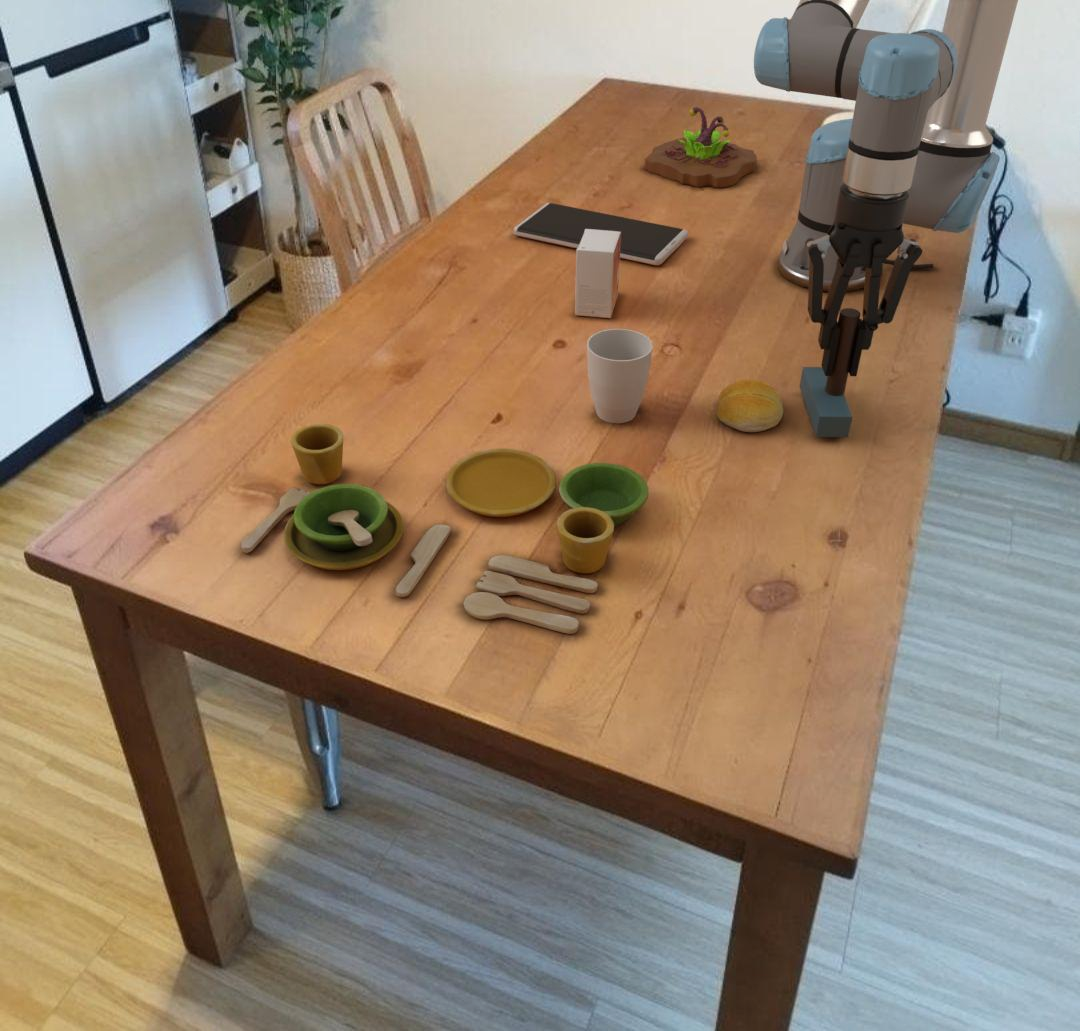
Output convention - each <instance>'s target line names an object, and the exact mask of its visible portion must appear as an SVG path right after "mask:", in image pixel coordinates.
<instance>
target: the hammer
mask: <svg viewBox="0 0 1080 1031" xmlns="http://www.w3.org/2000/svg"><path fill="white" fill-rule="evenodd" d="M859 319H861V312H860V311H859V310H858V309H855V308H853V307H845V308H842V309H840V311H839V314H838V320H837V322H838V325H839V327H840V329H841V330H840V335H839V340H838V345H837V350H836V355H835V360H834V365H833V370H832V376H825V374H824V371H823V368H822V366H802V370H801V375H800V381H799V390H800V393H801V396H802V399H803V402H804V404H805V409H806V411H807V414H808V417H809V420H810V424H811V426H812V429H813V432H814V434H815V437H816V438H849V435H850V431H851V426H852V421H853V415H852V412H851V410H850V407H849V405H848V402H847V399H846V396H845V392H846V387H847V381H848V376H849V368H850V363H851V358H852V353H853V348H854V343H855V338H856V333H857V329H858V324H859Z"/></svg>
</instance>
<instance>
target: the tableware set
mask: <svg viewBox="0 0 1080 1031" xmlns="http://www.w3.org/2000/svg"><path fill="white" fill-rule="evenodd" d="M290 444H291V446H292V449H293V452H294V455H295V458H296V460H297V463H298V466H299V469H300V471H301V474H302V476H303V478H304V480H305V481H307V482H308V483H310V484H313V485H325V484H330V483H332V482H334V481H336V480H337V479H340V477H341V475H342V471H343V457H344V456H343V454H344V433H343V431H342V430H341V429H340V428H338V427H337V426H335V425H333V424H328V423H314V424H310V425H306V426H304V427H301V428H299V429H297V430H296V431H294V432H293V434H292V436H291V439H290ZM556 486H557V476H556V473H555V471H554V469H553V468H552V466H551V465H550V464H549V463H548V462H547V461H545V460H544V459H543V458H541V457H539V456H538V455H536V454H533V453H531V452H527V451H525V450H520V449H515V448H490V449H484V450H479V451H476V452H473V453H470V454H468V455H466V456H464V457H462V458H461V459H459V460H458V461H456V462H455V463H454V464H453V465H452V466H451V467H450V469H449V470H448V472H447V474H446V477H445V487H446V491H447V492H448V495H449V496H450V497H451V498H452V500H454V502H456V503H457V504H458V505H460V506H461V507H463V508H465V509H466V510H468V511H471V512H472V513H475V514H478V515H481V516H485V517H492V518H494V517H495V518H506V517H514V516H515V517H516V516H519V515H522V514H526V513H528V512H530V511H532V510H534V509H536V508H538V507H539V506H541V505H543V504H544V503H545V502H546V501H548V500H549V498H550V497H551V496H552V495H553V493H554V492H555V489H556ZM558 492H559V495H560V498H561V500H562V501H563V503H565V505H566V506H567V507H568V508H569V509H568V510H566V511H564V512H563V513H561V514H560V515H559V517H558V519H557V522H556V526H557V534H558V540H559V546H560V551H561V556H562V561H563V564H564V565H565V567H566V568H567V569H569V570H570V571H572V572H574V573H577V574H593V573H596V572H598V571H599V570H601V569H602V568H603V567H604V565H605V563H606V560H607V557H608V553H609V549H610V546H611V541H612V537H613V534H614V531H615V527H616V526H619V525H621V524H623V523H625V521H627V520H628V519H629V518H630V517H631V516H632V515H633V514H634V513H636V512H637V511H638V510H640V509H641V508H642V507H643V506H644V505H645V503H646V502H647V500H648V497H649V492H650V491H649V485H648V483H647V481H646V480H645V479H644V477H643V476H642V475H641V474H639V473H638V472H637V471H635V470H634V469H631V468H629V467H627V466H624V465H621V464H616V463H610V462H592V463H586V464H581V465H579V466H577V467H574V468H572V469H571V470H569V471H567V472H566V473H565V474H564V476H562V478H561V480H560V481H559V485H558ZM290 512H293V515H291V516H290V518H289V519H288V520H287V523H286V525H285V528H284V532H283V536H284V537H283V538H284V543H285V546H286V547H287V549H288V550H289V552H290V553H291V554H292V555H293V556H294V557H295V558H297V559H298V560H300V561H301V562H303V563H305V564H308V565H310V566H313V567H316V568H319V569H322V570H329V571H330V570H331V571H346V570H355V569H358V568H363V567H365V566H368V565H371V564H373V563H375V562H377V561H378V560H380V559H381V558H382V557H384V556H387V554H389V552H391V551H392V550H393V549H394V548H395V547H396V546H397V544H398V543H399V542H400V539H401V538H402V535H403V532H404V519H403V516H402V515H401V513H400V511H399V510H398V509H397V508H396V507H395V506H394V505H393V504H391V503H390V502H388V501H386V499H385V497H384V496H383V495H382V494H381V493H380V492H378V491H377V490H375V489H373V488H371V487H368V486H365V485H361V484H354V483H339V484H331V485H328V486H324V487H321V488H317V489H316V490H313V491H307V490H306V489H300V488H297V487H293V488H291V489H289V490H288V491H287V492H285V493H284V494H283V495H282V496H281V497H280V498H279V505H278V507H277V508H275V509H274V511H273V512H272V513H270V515H268V516H267V517H266V518H265V519H264V520H262V522H260V524H258V526H256V527H255V528H254V529H253V530H252V531H250V533H248V534H247V535H246V536H245V537H244V538H242V540H241V552H243V553H247V554H248V553H251V552H252V551H253V550H254V549H256V547H257V546H258V545H259V544H260V543H261V542H262V540H264V539H265V537H266V536H268V534H269V533H270V532H271V531H272V530H273V529H274V528H275V527H276V525H277V524H278V523H279V522H280V521H281V520H282V519H283V518H284V517H285V516H286V515H287V514H289V513H290ZM451 533H452V527H451V526H450V525H447V524H440V523H439V524H438V523H437V524H435V525H433V526H432V527H431V528H429V529H428V530H427V531H426V532H424V534H423V536H422V538H421V539H420V540H419V542H418V543H417V545H416V546H415V548H414V549H413V550H412V552H411V554H410V558H411V559H412V561H413V562H414V563H415V564H413V566H412V567H411V568H410V570H409V571H408V572H407V573H406V574H405V575H404V576H403V578H401V580H400V581H399V583H398V584H397V585H396V587H395V595H396V596H397V597H399V598H405V597H408V596H409V595H410V594H411V593H412V592H413V591H414V589H415V587H416V586H417V585H418V583H419V581H420V580H421V579H422V577H423V575H424V574H425V573H426V572H427V569H428V568H429V567H430V565H431V563H432V562H433V561H434V560H435V557H436V556H437V554H438V553H439V551H440V550H441V548H442V547H443V545H444V544H445V543H446V541H447V539H448V538H449V536H450V535H451ZM487 564H488V566H487V567H488V569H489V570H485V571H484V572H483V573H482V576H481V577H480V579H479V581H478V582H477V584H476V585H475V588H476V589H477V590H480V591H479V592H474V593H471V594H469V595H467V596H466V597H465V599H464V600H463V608H464V610H465V611H466V613H467V614H468V615H470V616H471V617H473V618H476V619H479V620H483V621H484V620H494V619H497V618H498V619H499V618H507V619H512V620H516V621H519V622H523V623H527V624H530V625H534V626H538V627H540V628H545V629H549V630H551V631H555V632H559V633H563V634H568V635H574V634H576V633H577V632H578V631H579V626H580V622H579V620H578V619H577V618H575V617H572V616H569V615H563V614H558V613H552V612H546V611H541V610H535V609H532V608H531V609H530V608H526V607H525V608H524V607H520V606H515V605H511V604H509V603H507V602H505V601H504V600H503V599H502V598H501V597H506V596H520V597H524V598H526V599H530V600H534V601H536V602H539V603H543V604H546V605H549V606H553V607H556V608H558V609H562V610H565V611H569V612H573V613H575V614H576V613H577V614H582V615H583V614H587V613H588V612H589V611H590V610H591V603H590V601H589V600H588V599H586V598H581V597H577V596H573V595H568V594H564V593H559V592H554V591H550V590H545V589H541V588H537V587H533V586H528V585H526V584H521V583H519V582H518V581H517V580H516V579H515V578H514V577H519V578H521V579H527V580H531V581H535V582H539V583H544V584H548V585H551V586H556V587H560V588H563V589H568V590H572V591H576V592H577V591H578V592H581V593H586V594H594V593H595V592H597V590H598V586H599V585H598V584H599V583H598V582H596V581H595V580H593V579H589V578H584V577H579V576H573V575H567V574H561V573H555V572H552V571H551V569H550V567H549V565H548V564H545V563H540V562H537V561H532V560H529V559H524V558H521V557H515V556H512V555H507V554H499V555H495V556H493V557H491V558H490V559H489V561H488V563H487ZM513 576H514V577H513Z"/></svg>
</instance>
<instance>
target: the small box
mask: <svg viewBox="0 0 1080 1031" xmlns="http://www.w3.org/2000/svg"><path fill="white" fill-rule="evenodd" d="M620 246H621V232H618V231H607V230H595V229H585V231H584V234H583V237H582V239H581V241H580V244H579V246H578V248H576V249H575V285H574V286H575V290H574V298H575V299H574V315H575V316H581V317H592V318H604V319H612V316H613V312H614V309H615V306H616V304H617V301H618V297H619V279H620V261H621V258H620Z"/></svg>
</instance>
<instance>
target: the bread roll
mask: <svg viewBox="0 0 1080 1031" xmlns="http://www.w3.org/2000/svg"><path fill="white" fill-rule="evenodd" d="M716 414H717V417H718V420H719V421H720V422H721V423H723V424H724V425H725V426H728V427H730V428H733V429H734V430H737V431H740V432H746V433H757V432H763V431H767V430H769V429H772V428H774V427H775V426H777V425H778V424H779V423H780V421H781V420H782V418H783V415H784V406H783V401H782V398H781V396H780V394H778V392H777V391H776V389H775V388H774V387H773V386H772V385H770V384H768V383H766V382H764V381H762V380H758V379H751V378H749V379H747V378H746V379H741V380H737V381H734V382H732V383H730V384H728V385H726V386H725V387H724V388H723V389H722V391H721V392H720V394H719V396H718V408H717V411H716Z"/></svg>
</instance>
